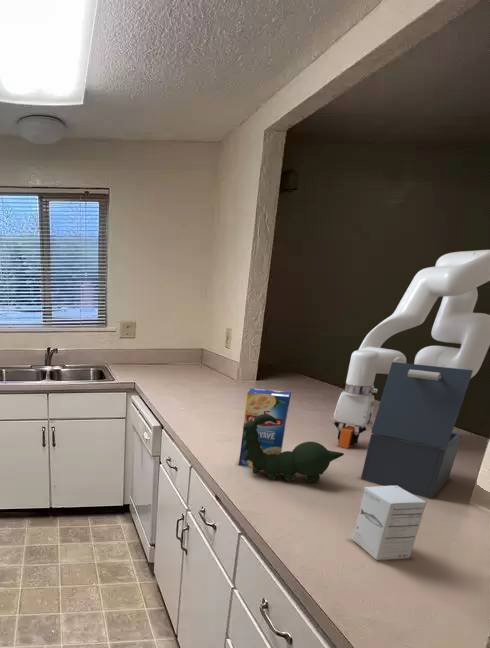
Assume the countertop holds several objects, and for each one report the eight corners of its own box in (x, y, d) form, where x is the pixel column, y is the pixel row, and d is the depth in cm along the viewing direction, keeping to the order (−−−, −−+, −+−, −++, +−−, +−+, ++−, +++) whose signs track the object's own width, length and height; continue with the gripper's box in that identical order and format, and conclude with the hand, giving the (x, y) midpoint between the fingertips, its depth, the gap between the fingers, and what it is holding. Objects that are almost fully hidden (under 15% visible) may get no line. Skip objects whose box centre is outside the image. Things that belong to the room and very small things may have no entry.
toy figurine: (241, 483, 121) (343, 490, 112) (242, 418, 115) (351, 419, 106) (242, 471, 129) (338, 476, 120) (244, 409, 123) (344, 410, 114)
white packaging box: (350, 540, 91) (363, 485, 87) (383, 538, 92) (398, 484, 87) (375, 561, 84) (390, 503, 80) (411, 559, 85) (428, 501, 80)
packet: (344, 442, 148) (348, 425, 146) (354, 444, 146) (358, 427, 144) (337, 446, 144) (341, 429, 142) (347, 448, 142) (351, 431, 140)
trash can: (382, 462, 131) (392, 421, 127) (448, 478, 120) (462, 434, 115) (360, 478, 120) (371, 434, 116) (431, 498, 109) (445, 450, 104)
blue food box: (277, 471, 125) (289, 396, 118) (238, 464, 130) (247, 392, 122) (279, 463, 131) (291, 391, 123) (242, 457, 136) (250, 388, 128)
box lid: (393, 362, 112) (387, 360, 108) (473, 370, 100) (469, 368, 97) (371, 432, 116) (365, 433, 112) (446, 448, 104) (442, 449, 101)
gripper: (391, 392, 135) (378, 447, 141) (335, 384, 147) (325, 435, 153) (383, 396, 131) (370, 452, 137) (326, 387, 142) (316, 440, 148)
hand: (346, 443), depth 145 cm, fingers closed on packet, 3 cm apart
